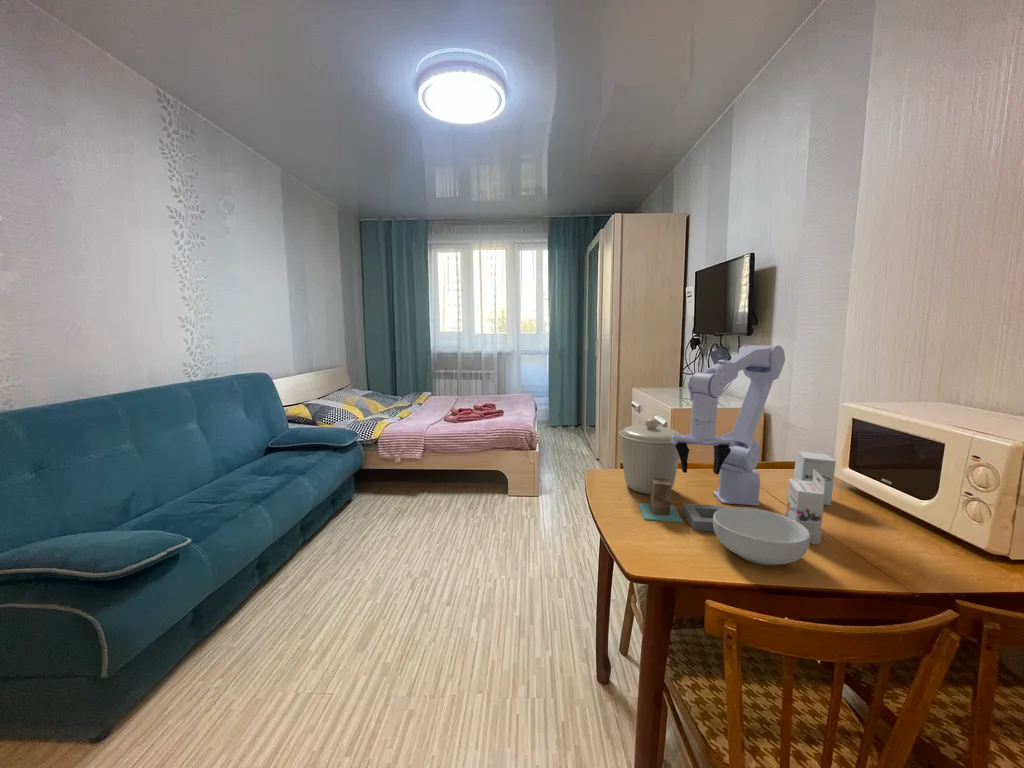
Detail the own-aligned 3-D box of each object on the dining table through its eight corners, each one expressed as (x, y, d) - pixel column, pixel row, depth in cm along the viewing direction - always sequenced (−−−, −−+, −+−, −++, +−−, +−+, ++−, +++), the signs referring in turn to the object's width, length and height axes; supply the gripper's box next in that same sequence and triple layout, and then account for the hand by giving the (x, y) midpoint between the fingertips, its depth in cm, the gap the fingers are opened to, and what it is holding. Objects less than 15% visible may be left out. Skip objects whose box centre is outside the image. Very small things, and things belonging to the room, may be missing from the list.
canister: (672, 479, 127) (676, 414, 124) (689, 502, 109) (693, 427, 107) (614, 476, 129) (616, 412, 127) (620, 498, 112) (623, 424, 109)
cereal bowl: (788, 541, 89) (791, 511, 88) (822, 585, 73) (826, 549, 72) (705, 530, 94) (707, 501, 93) (719, 569, 78) (722, 535, 77)
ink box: (783, 524, 97) (789, 465, 95) (808, 528, 95) (814, 468, 93) (793, 541, 89) (799, 477, 87) (820, 545, 87) (827, 480, 85)
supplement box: (798, 501, 110) (803, 457, 109) (791, 492, 117) (795, 450, 116) (831, 506, 108) (836, 460, 106) (822, 496, 114) (826, 453, 113)
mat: (673, 507, 106) (673, 505, 106) (682, 522, 97) (682, 521, 97) (638, 504, 108) (638, 503, 108) (644, 519, 99) (644, 518, 99)
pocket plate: (723, 514, 102) (724, 506, 102) (739, 533, 92) (740, 524, 92) (682, 511, 104) (682, 503, 103) (693, 529, 94) (693, 520, 94)
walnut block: (666, 508, 104) (667, 479, 103) (669, 515, 100) (671, 484, 99) (650, 507, 105) (651, 478, 104) (653, 514, 101) (654, 483, 100)
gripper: (677, 422, 98) (674, 475, 100) (740, 424, 96) (736, 479, 98) (670, 416, 105) (667, 466, 107) (729, 418, 103) (725, 470, 105)
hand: (700, 472), depth 103 cm, fingers open, 7 cm apart
